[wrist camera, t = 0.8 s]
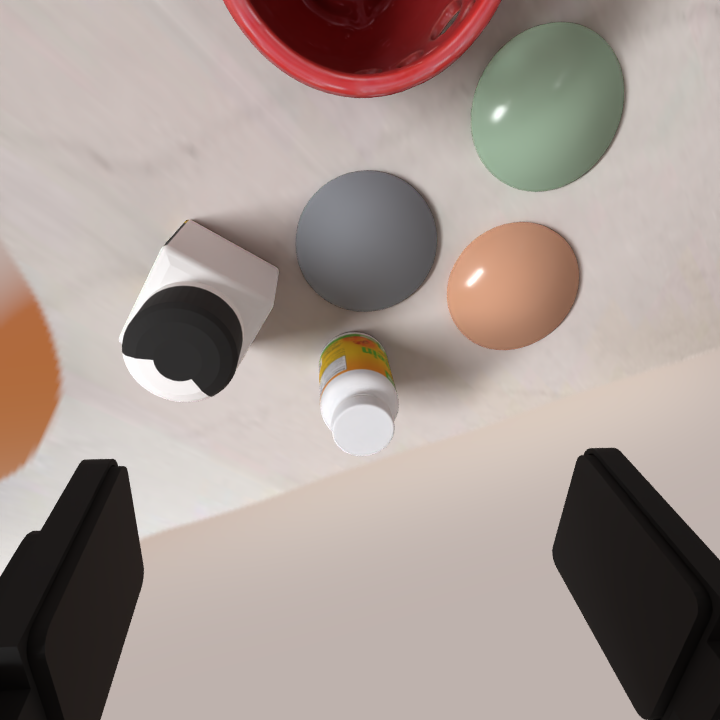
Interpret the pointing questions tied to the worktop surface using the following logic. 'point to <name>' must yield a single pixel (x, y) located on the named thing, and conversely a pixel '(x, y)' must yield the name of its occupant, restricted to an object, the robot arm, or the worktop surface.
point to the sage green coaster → (547, 106)
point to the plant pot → (361, 40)
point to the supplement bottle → (357, 393)
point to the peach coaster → (512, 285)
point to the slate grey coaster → (366, 241)
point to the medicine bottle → (196, 315)
